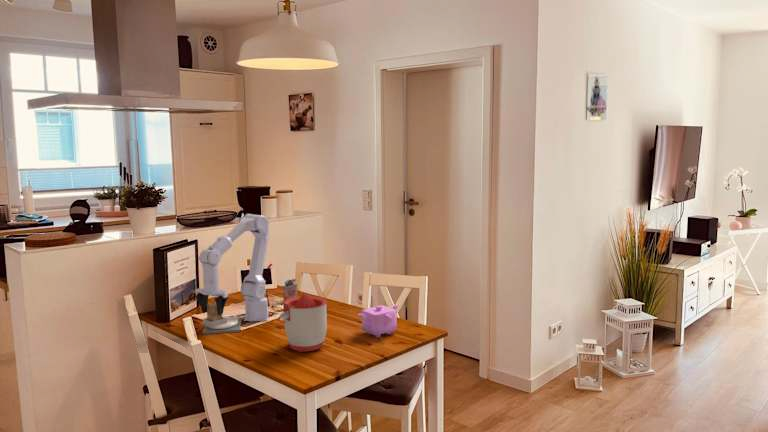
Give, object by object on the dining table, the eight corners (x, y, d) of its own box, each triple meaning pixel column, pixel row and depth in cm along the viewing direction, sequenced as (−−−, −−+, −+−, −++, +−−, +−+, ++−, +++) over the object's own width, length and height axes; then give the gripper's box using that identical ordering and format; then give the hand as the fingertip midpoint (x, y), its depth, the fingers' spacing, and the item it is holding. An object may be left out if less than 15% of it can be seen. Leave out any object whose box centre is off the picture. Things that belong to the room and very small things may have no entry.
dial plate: (241, 320, 250) (241, 318, 250) (239, 331, 236) (239, 329, 236) (207, 322, 248) (207, 320, 248) (202, 334, 234) (202, 331, 234)
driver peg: (215, 321, 242) (214, 302, 241) (222, 323, 240) (221, 303, 238) (207, 324, 238) (206, 304, 237) (214, 325, 236) (213, 306, 235)
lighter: (286, 303, 275) (286, 282, 274) (281, 302, 277) (280, 281, 276) (299, 299, 282) (298, 278, 280) (294, 298, 284) (293, 277, 282)
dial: (227, 317, 250) (226, 310, 250) (243, 323, 242) (243, 315, 242) (199, 325, 241) (199, 317, 241) (215, 331, 233) (215, 323, 233)
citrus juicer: (274, 345, 221) (272, 292, 218) (318, 336, 229) (316, 285, 227) (289, 358, 208) (287, 302, 205) (335, 349, 216) (333, 295, 213)
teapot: (366, 326, 241) (366, 299, 240) (399, 327, 239) (399, 301, 237) (357, 339, 227) (357, 311, 225) (392, 341, 224) (392, 312, 222)
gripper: (189, 280, 234) (191, 314, 236) (218, 283, 228) (220, 318, 230) (201, 276, 240) (203, 309, 242) (230, 279, 234) (232, 313, 236)
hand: (212, 313), depth 236 cm, fingers open, 7 cm apart
